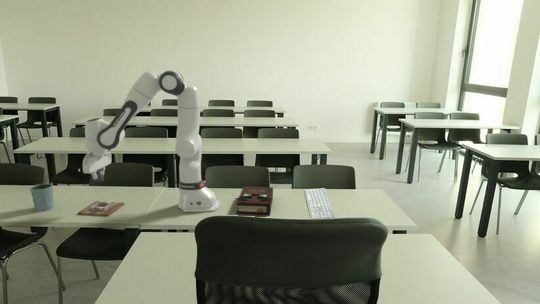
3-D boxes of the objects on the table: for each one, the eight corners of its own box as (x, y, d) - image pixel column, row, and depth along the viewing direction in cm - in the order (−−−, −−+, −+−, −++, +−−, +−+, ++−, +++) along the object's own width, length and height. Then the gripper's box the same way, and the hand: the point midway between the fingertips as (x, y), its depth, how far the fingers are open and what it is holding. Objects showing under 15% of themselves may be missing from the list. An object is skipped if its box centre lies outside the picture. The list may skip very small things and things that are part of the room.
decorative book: (275, 184, 216) (272, 203, 187) (275, 197, 218) (271, 218, 189) (241, 183, 218) (233, 202, 189) (242, 196, 219) (233, 216, 190)
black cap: (105, 179, 195) (104, 170, 194) (100, 182, 191) (99, 172, 189) (97, 179, 195) (96, 169, 194) (92, 181, 191) (91, 172, 190)
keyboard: (304, 191, 230) (304, 187, 229) (324, 191, 230) (324, 187, 229) (310, 220, 187) (310, 216, 186) (335, 221, 187) (336, 216, 186)
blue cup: (36, 213, 190) (33, 190, 187) (30, 208, 197) (27, 186, 194) (58, 208, 197) (55, 186, 194) (51, 203, 204) (48, 181, 201)
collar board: (124, 204, 203) (123, 200, 203) (108, 216, 188) (107, 211, 187) (96, 202, 205) (95, 198, 205) (78, 214, 190) (77, 209, 189)
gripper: (90, 155, 179) (92, 183, 182) (112, 146, 199) (114, 171, 202) (77, 155, 180) (80, 183, 183) (101, 146, 199) (103, 171, 203)
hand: (98, 177), depth 193 cm, fingers closed on black cap, 4 cm apart
